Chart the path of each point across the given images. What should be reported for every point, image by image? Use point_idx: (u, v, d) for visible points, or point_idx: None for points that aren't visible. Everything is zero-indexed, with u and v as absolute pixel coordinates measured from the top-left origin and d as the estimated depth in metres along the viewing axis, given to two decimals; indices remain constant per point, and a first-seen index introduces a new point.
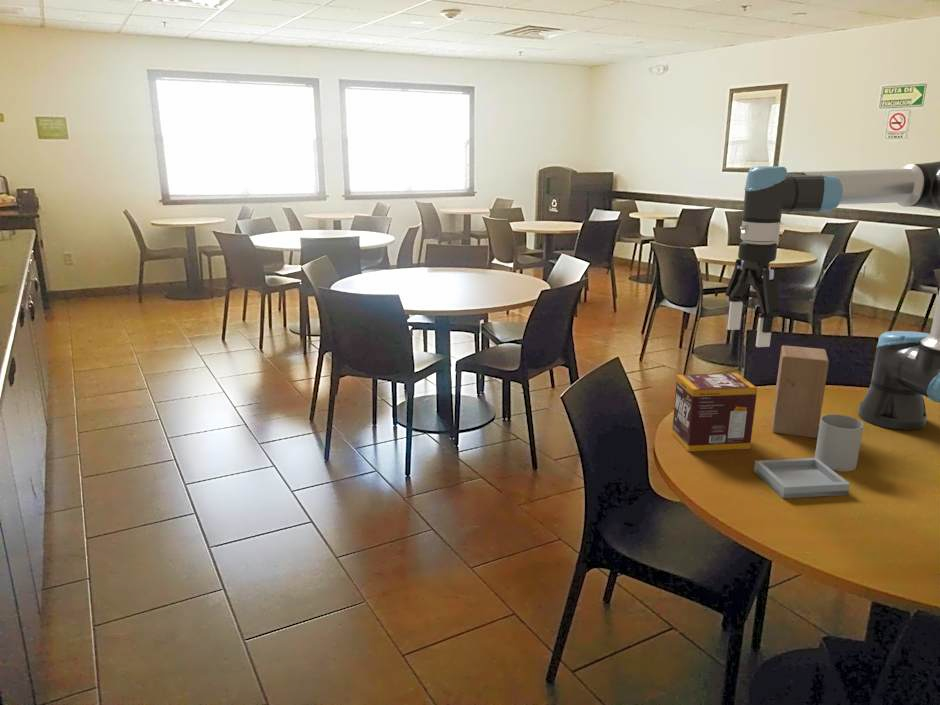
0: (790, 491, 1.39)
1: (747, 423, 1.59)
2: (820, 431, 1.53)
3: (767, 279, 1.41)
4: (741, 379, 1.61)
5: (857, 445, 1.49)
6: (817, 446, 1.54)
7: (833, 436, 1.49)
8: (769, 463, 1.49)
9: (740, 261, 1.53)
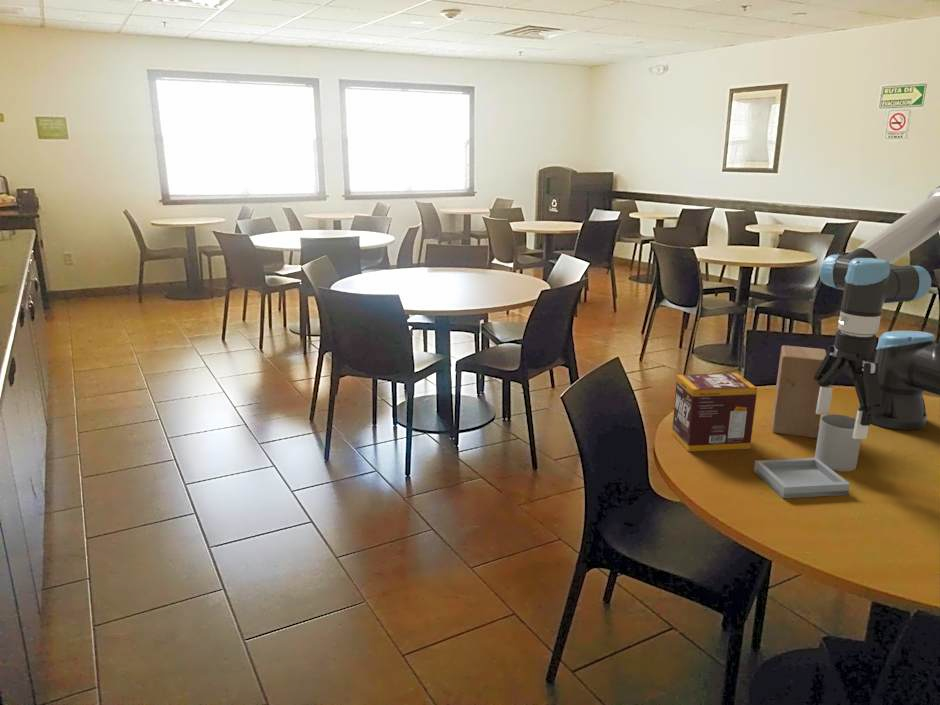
0: (790, 491, 1.39)
1: (747, 423, 1.59)
2: (820, 431, 1.53)
3: (868, 373, 1.40)
4: (741, 379, 1.61)
5: (857, 445, 1.49)
6: (817, 446, 1.54)
7: (833, 436, 1.49)
8: (769, 463, 1.49)
9: (833, 348, 1.52)
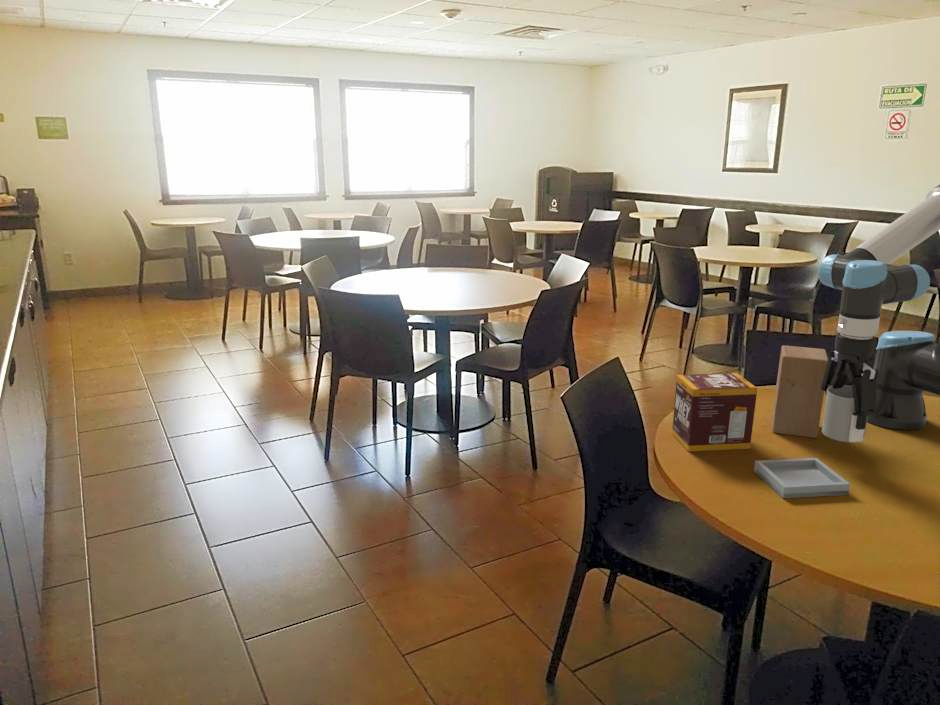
0: (790, 491, 1.39)
1: (747, 423, 1.59)
2: (827, 402, 1.51)
3: (867, 379, 1.41)
4: (741, 379, 1.61)
5: None
6: (824, 417, 1.52)
7: (840, 407, 1.47)
8: (769, 463, 1.49)
9: (833, 353, 1.52)
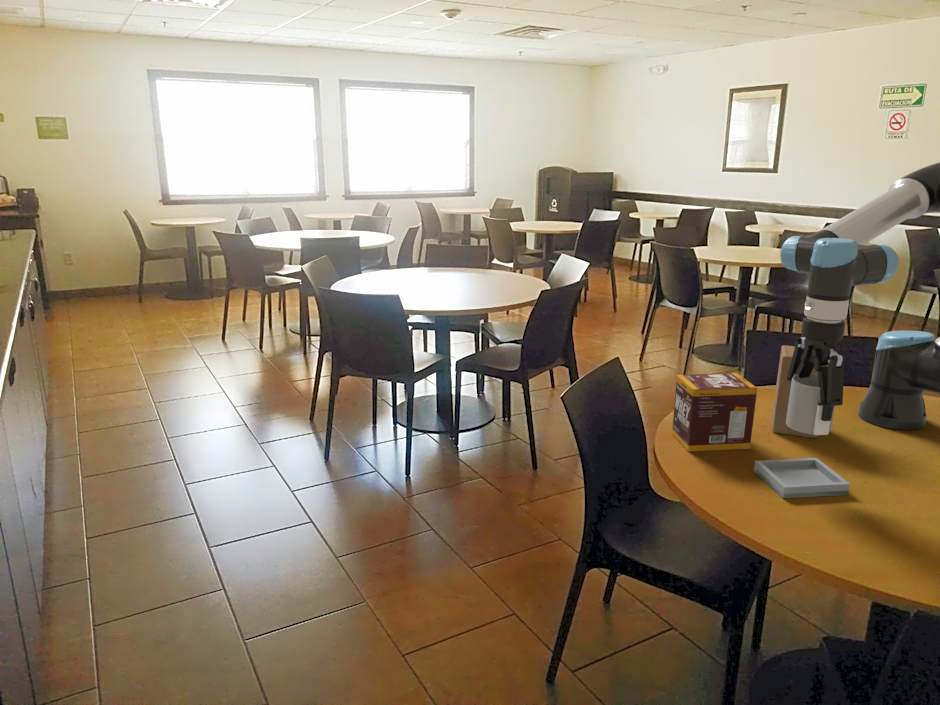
0: (790, 491, 1.39)
1: (747, 423, 1.59)
2: (791, 391, 1.40)
3: (834, 366, 1.31)
4: (741, 379, 1.61)
5: None
6: (788, 408, 1.42)
7: (805, 396, 1.37)
8: (769, 463, 1.49)
9: (800, 339, 1.42)
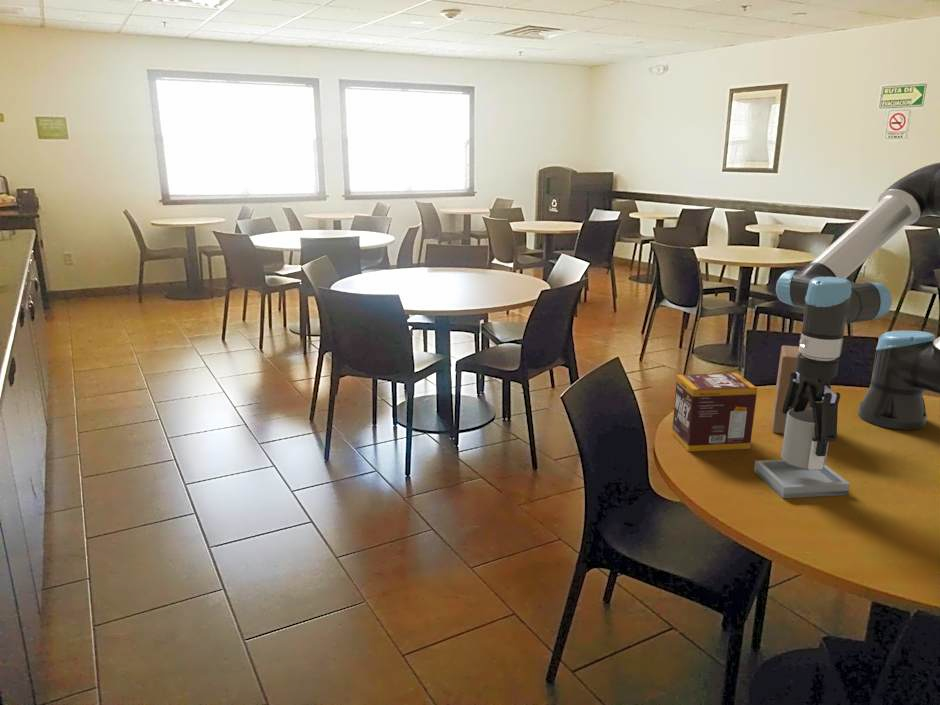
0: (790, 491, 1.39)
1: (747, 423, 1.59)
2: (786, 426, 1.42)
3: (828, 403, 1.33)
4: (741, 379, 1.61)
5: None
6: (784, 442, 1.44)
7: (799, 431, 1.39)
8: (769, 463, 1.49)
9: (795, 374, 1.44)
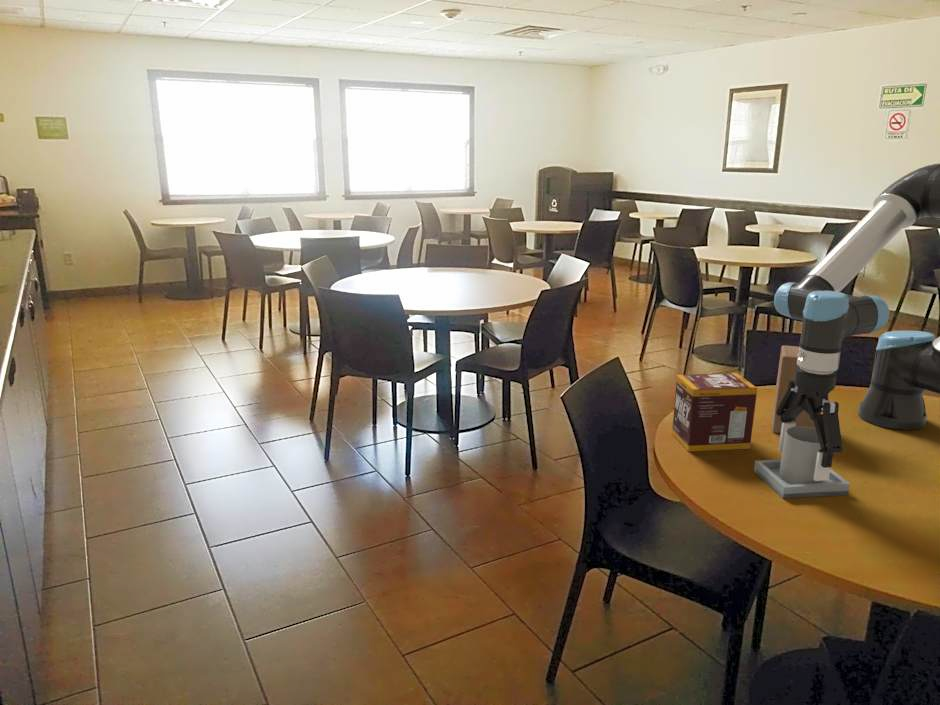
0: (790, 491, 1.39)
1: (747, 423, 1.59)
2: (785, 444, 1.44)
3: (828, 413, 1.33)
4: (741, 379, 1.61)
5: None
6: (782, 460, 1.45)
7: (797, 450, 1.40)
8: (769, 463, 1.49)
9: (794, 383, 1.45)
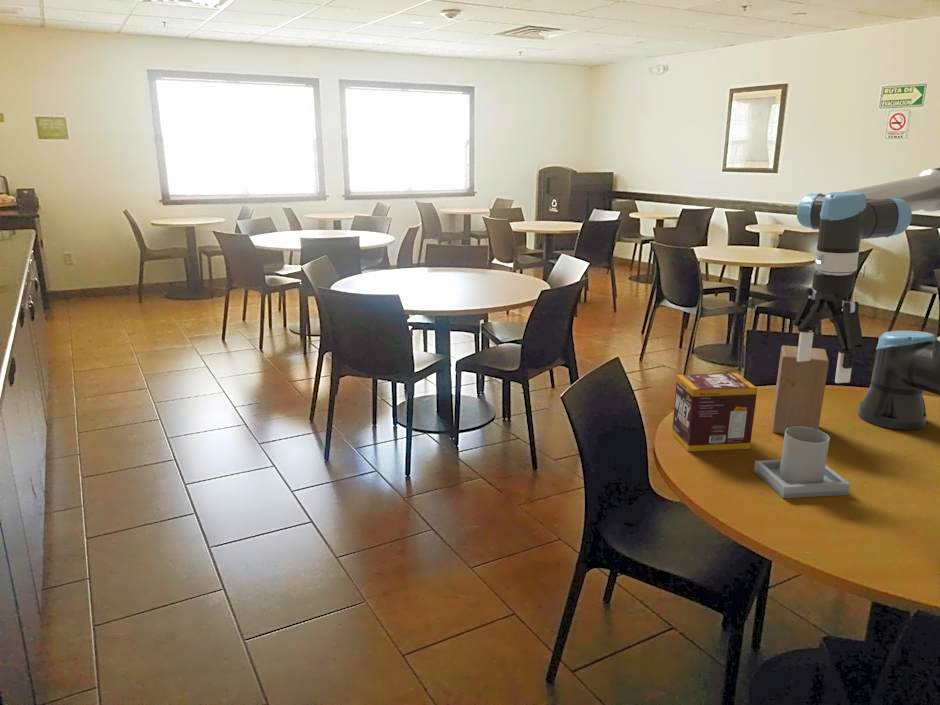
0: (790, 491, 1.39)
1: (747, 423, 1.59)
2: (784, 445, 1.44)
3: (848, 312, 1.33)
4: (741, 379, 1.61)
5: (823, 460, 1.40)
6: (781, 460, 1.45)
7: (797, 450, 1.40)
8: (769, 463, 1.49)
9: (811, 290, 1.45)
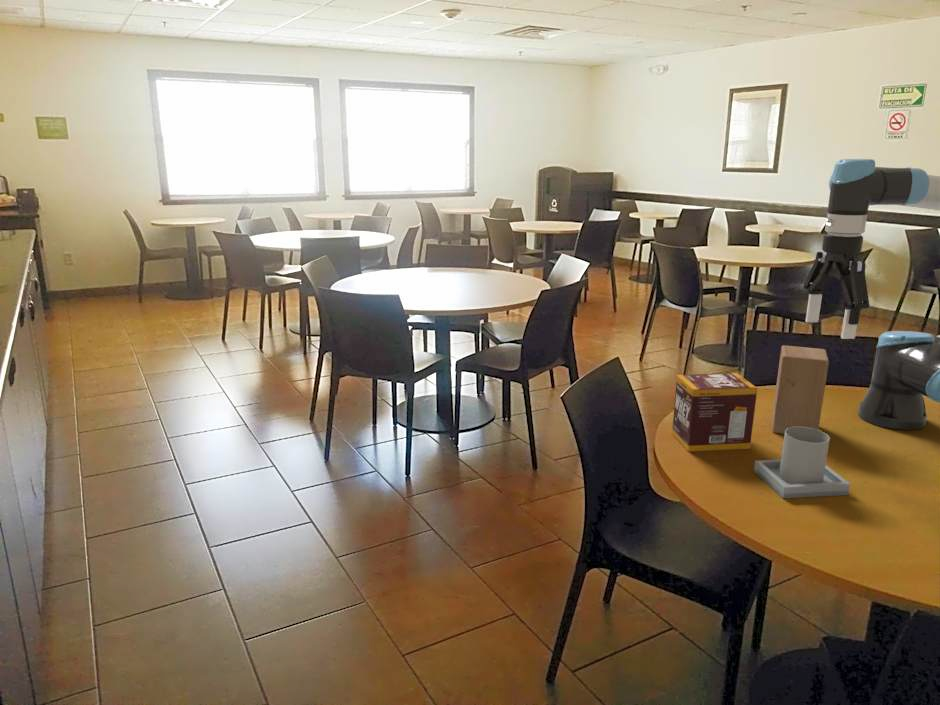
0: (790, 491, 1.39)
1: (747, 423, 1.59)
2: (784, 445, 1.44)
3: (855, 271, 1.42)
4: (741, 379, 1.61)
5: (823, 460, 1.40)
6: (781, 460, 1.45)
7: (797, 450, 1.40)
8: (769, 463, 1.49)
9: (821, 254, 1.54)
